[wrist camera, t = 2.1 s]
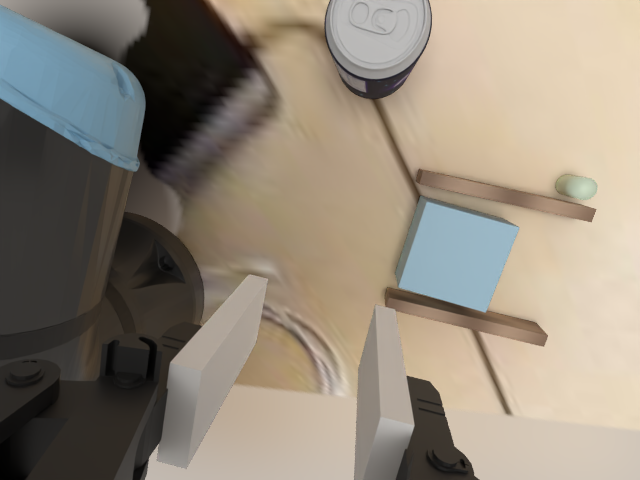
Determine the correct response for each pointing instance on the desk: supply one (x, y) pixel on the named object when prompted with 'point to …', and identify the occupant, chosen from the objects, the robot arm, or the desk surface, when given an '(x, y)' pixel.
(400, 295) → the parallel brown rails
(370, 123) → the desk surface
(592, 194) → the goal posts
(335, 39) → the beverage can
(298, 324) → the desk surface
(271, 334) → the desk surface
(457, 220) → the block
